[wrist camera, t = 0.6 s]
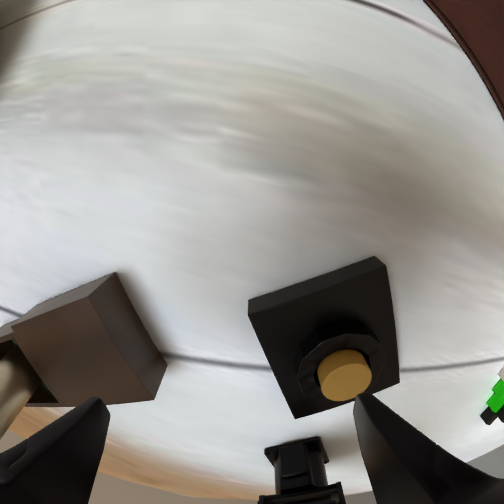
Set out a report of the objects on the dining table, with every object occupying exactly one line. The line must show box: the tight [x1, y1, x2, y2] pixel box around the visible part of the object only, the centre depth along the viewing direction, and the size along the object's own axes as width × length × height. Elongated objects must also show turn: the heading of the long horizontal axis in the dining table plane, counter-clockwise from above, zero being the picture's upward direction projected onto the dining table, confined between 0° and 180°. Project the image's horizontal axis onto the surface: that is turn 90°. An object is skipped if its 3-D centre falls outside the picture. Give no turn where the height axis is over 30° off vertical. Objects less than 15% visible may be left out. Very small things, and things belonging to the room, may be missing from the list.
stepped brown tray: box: [0, 272, 167, 407], centre depth 21 cm, size 9×20×4 cm, turn 110°
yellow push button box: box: [248, 256, 400, 419], centre depth 21 cm, size 12×10×4 cm
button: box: [317, 349, 372, 401], centre depth 18 cm, size 4×4×2 cm
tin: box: [0, 344, 43, 439], centre depth 17 cm, size 5×5×13 cm
